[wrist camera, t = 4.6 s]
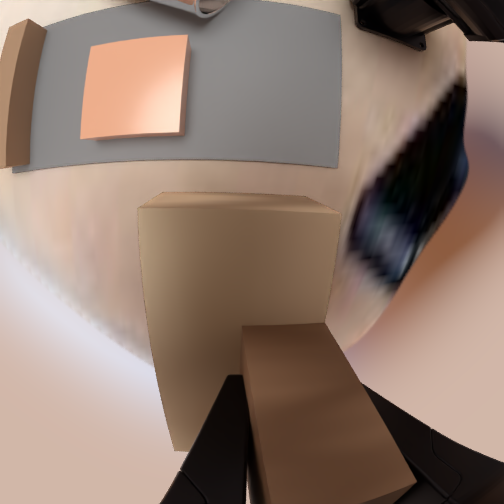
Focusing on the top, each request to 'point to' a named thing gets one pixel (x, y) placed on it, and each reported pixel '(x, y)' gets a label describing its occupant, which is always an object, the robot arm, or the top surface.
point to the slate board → (199, 86)
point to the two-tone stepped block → (262, 343)
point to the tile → (136, 88)
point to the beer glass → (196, 6)
